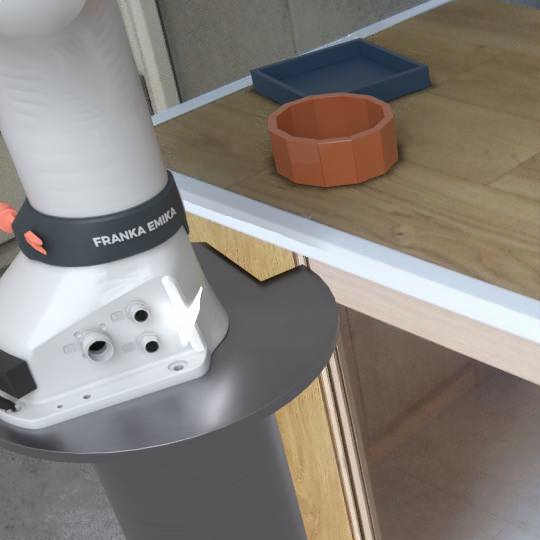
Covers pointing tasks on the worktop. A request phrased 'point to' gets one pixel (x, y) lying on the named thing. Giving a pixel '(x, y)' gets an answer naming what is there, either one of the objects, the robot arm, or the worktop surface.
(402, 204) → the worktop surface
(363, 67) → the tray
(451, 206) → the worktop surface
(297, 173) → the bowl
